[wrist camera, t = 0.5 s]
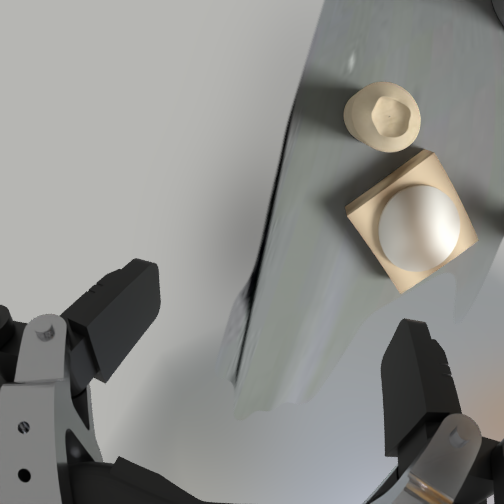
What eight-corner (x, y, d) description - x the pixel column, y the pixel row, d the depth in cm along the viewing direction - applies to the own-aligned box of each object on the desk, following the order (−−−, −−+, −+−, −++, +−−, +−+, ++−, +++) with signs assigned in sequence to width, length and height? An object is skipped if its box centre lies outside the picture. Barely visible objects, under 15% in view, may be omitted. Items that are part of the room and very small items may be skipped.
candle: (334, 101, 27) (341, 92, 18) (382, 85, 25) (409, 71, 16) (355, 150, 29) (370, 164, 20) (402, 134, 27) (436, 142, 18)
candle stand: (424, 149, 27) (437, 153, 23) (467, 229, 29) (481, 243, 25) (344, 206, 31) (347, 218, 28) (395, 279, 33) (401, 297, 30)
